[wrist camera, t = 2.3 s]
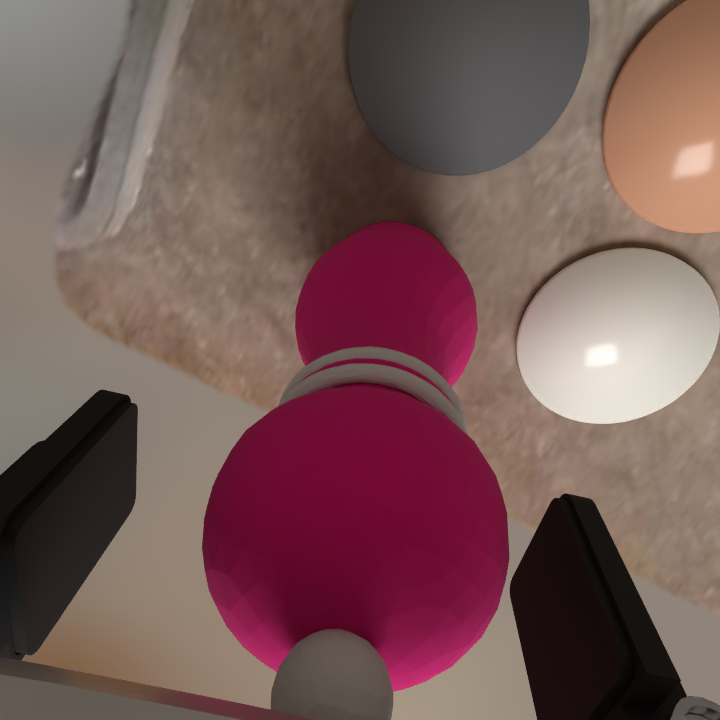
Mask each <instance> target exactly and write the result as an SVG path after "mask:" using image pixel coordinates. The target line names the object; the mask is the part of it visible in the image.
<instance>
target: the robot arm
mask: <svg viewBox="0 0 720 720" xmlns="http://www.w3.org/2000/svg"><path fill="white" fill-rule="evenodd" d="M137 414H138V410H137V405H136V404H134V403H131V399H130V397H129V396H128V395H124V394H120V393H115V392H111V391H107V390H99V391H98V392H97V393H95V394H94V395H93V396H92V397H91V398H90V399H89V400H88V401H87V402H86V403H85V404H84V405H83V406H81V408H79V409H78V410H77V411H76V412H75V413H74V414H73V415H72V416H71V417H70V418H69V419H68V420H66V421H65V422H64V423H63V424H62V425H61V426H60V427H59V428H58V429H57V430H56V431H54V432H53V433H52V434H51V435H50V436H49V437H48V438H47V439H46V440H44V441H40V442H38V443H36V444H35V445H33V446H32V447H31V448H30V449H29V450H28V451H26V452H25V453H24V454H23V455H22V456H21V457H20V458H19V459H18V460H17V461H16V462H14V463H13V464H12V465H11V466H10V467H9V468H8V469H7V470H6V471H5V472H4V473H2V474H1V475H0V720H318V719H313V718H308V717H303V716H298V715H293V714H289V713H284V712H279V711H274V710H269V709H264V708H260V707H255V706H250V705H245V704H240V703H236V702H231V701H226V700H221V699H216V698H211V697H206V696H201V695H196V694H191V693H186V692H181V691H176V690H171V689H166V688H161V687H156V686H151V685H146V684H141V683H137V682H132V681H127V680H122V679H117V678H112V677H107V676H102V675H97V674H91V673H85V672H80V671H75V670H69V669H64V668H58V667H53V666H48V665H42V664H36V663H31V662H25V661H21V660H22V658H23V657H24V655H25V654H27V655H32V654H34V653H35V652H36V651H37V650H38V649H39V648H40V646H41V645H42V643H43V642H44V640H45V639H46V638H47V636H48V634H49V633H50V631H51V630H52V629H53V627H54V626H55V624H56V623H57V621H58V620H59V618H60V617H61V615H62V614H63V612H64V610H65V609H66V608H67V606H68V605H69V603H70V602H71V600H72V599H73V597H74V596H75V594H76V593H77V591H78V590H79V589H80V587H81V586H82V584H83V583H84V581H85V580H86V578H87V577H88V575H89V573H90V572H91V571H92V569H93V568H94V566H95V565H96V563H97V562H98V560H99V559H100V557H101V556H102V554H103V553H104V551H105V550H106V548H107V547H108V545H109V544H110V542H111V541H112V540H113V538H114V537H115V535H116V534H117V532H118V531H119V529H120V528H121V526H122V525H123V523H124V522H125V520H126V519H127V517H128V516H129V514H130V513H131V511H132V508H133V506H134V503H135V499H136V463H137V416H138V415H137ZM510 598H511V602H512V606H513V611H514V616H515V620H516V625H517V629H518V634H519V638H520V642H521V647H522V652H523V657H524V661H525V665H526V670H527V675H528V679H529V684H530V688H531V692H532V697H533V702H534V706H535V711H536V716H537V720H720V706H719V705H718V704H716V703H714V702H712V701H709V700H707V699H704V698H701V697H694V696H688V697H687V695H686V693H685V691H684V689H683V687H682V685H681V683H680V681H681V680H680V678H679V676H678V674H677V672H676V669H675V668H674V665H673V663H672V662H671V659H670V657H669V655H668V653H667V651H666V649H665V647H664V645H663V643H662V641H661V639H660V637H659V634H658V632H657V630H656V628H655V626H654V624H653V622H652V620H651V618H650V616H649V614H648V612H647V610H646V608H645V606H644V604H643V601H642V599H641V597H640V595H639V593H638V591H637V589H636V587H635V585H634V583H633V581H632V579H631V577H630V575H629V573H628V571H627V569H626V566H625V564H624V562H623V560H622V558H621V556H620V554H619V552H618V550H617V548H616V546H615V544H614V542H613V540H612V538H611V536H610V534H609V531H608V529H607V527H606V525H605V523H604V521H603V519H602V517H601V515H600V513H599V511H598V509H597V507H596V505H595V503H594V502H593V500H591V499H589V498H584V497H580V496H575V495H571V494H563V495H562V496H561V497H560V498H554V499H553V500H552V501H551V503H550V505H549V507H548V509H547V511H546V513H545V515H544V517H543V519H542V521H541V522H540V524H539V526H538V528H537V530H536V532H535V534H534V536H533V538H532V540H531V542H530V544H529V546H528V548H527V550H526V552H525V554H524V556H523V558H522V560H521V562H520V564H519V566H518V568H517V570H516V572H515V574H514V576H513V578H512V580H511V584H510Z"/></svg>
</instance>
